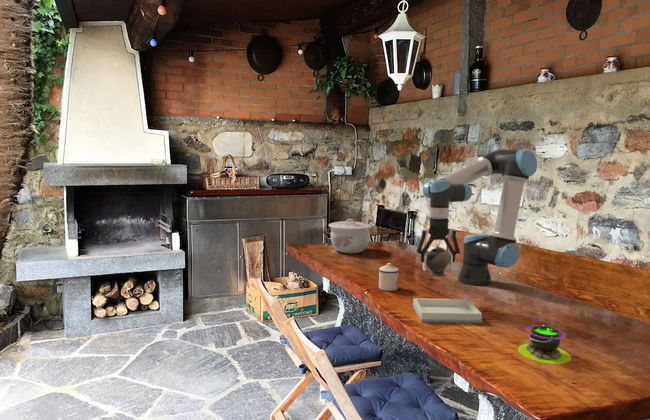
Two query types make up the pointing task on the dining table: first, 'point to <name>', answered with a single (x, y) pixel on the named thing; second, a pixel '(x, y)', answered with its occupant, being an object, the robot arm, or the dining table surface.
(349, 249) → the chamber pot
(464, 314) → the serving tray
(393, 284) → the teacup with lid
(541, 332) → the toy cauldron
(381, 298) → the dining table surface
